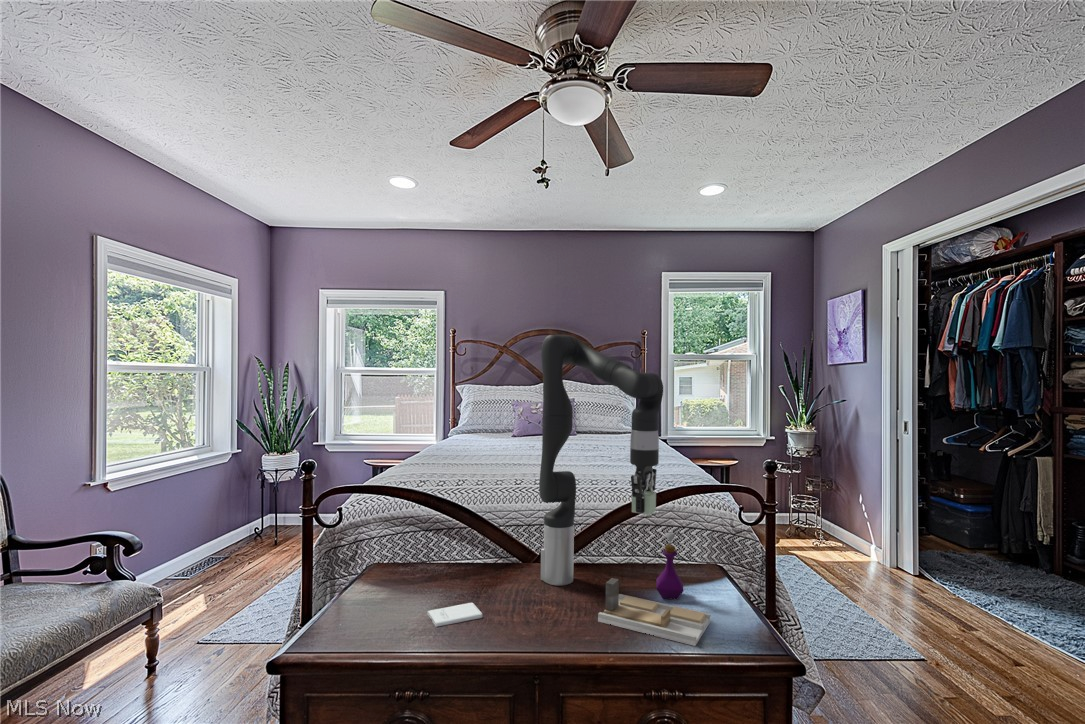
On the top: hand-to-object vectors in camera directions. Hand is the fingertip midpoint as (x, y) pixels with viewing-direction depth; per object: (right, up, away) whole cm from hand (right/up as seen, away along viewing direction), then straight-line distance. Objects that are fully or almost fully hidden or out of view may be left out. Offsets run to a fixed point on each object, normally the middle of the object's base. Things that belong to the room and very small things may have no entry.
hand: (643, 509), depth 152 cm
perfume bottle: (+9, -28, +10) cm, 31 cm away
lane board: (+2, -27, -6) cm, 28 cm away
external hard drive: (-50, -28, -4) cm, 57 cm away
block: (0, 0, 0) cm, 0 cm away
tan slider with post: (-3, -26, -7) cm, 27 cm away
